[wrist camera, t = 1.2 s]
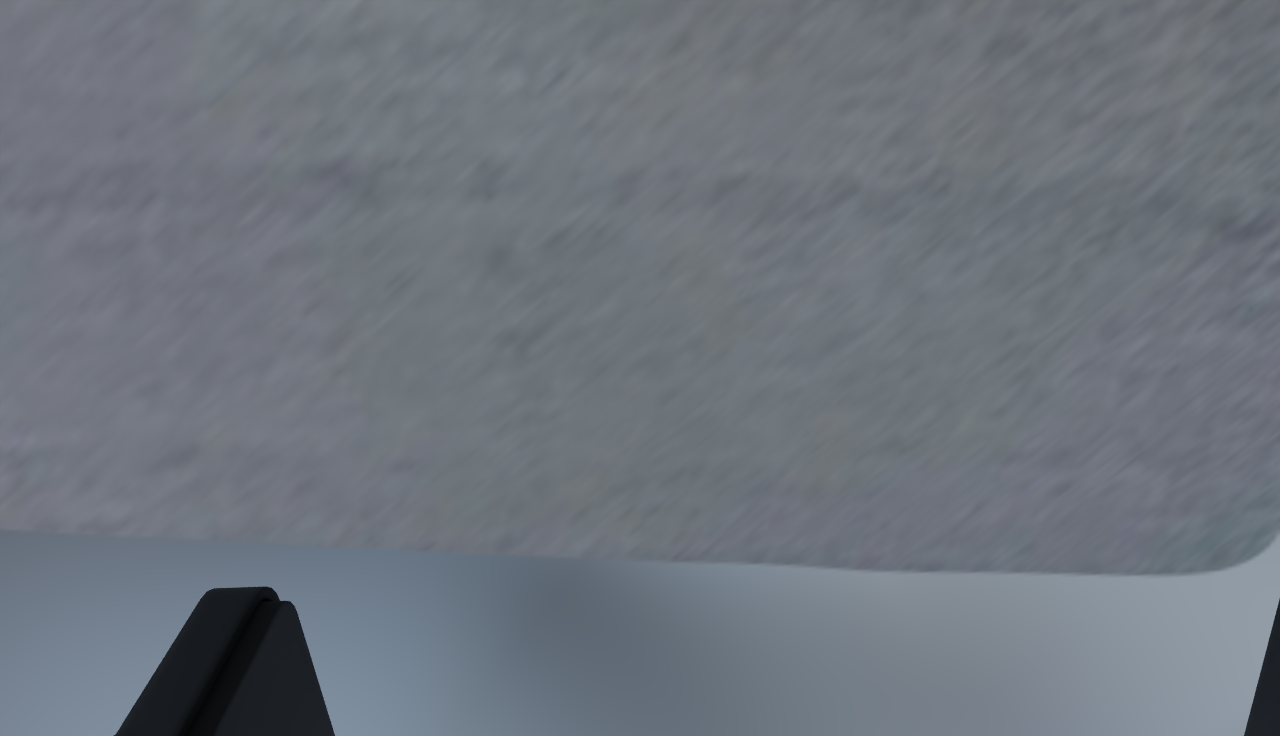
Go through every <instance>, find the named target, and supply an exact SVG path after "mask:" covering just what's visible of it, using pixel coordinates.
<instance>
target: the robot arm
mask: <svg viewBox="0 0 1280 736" xmlns="http://www.w3.org/2000/svg"><path fill="white" fill-rule="evenodd" d="M114 736H335V734H334V731H333V728H332V725H331V721H330V718H329V715H328V712H327V708H326V705H325V702H324V698H323V695H322V692H321V689H320V685H319V682H318V679H317V676H316V672H315V669H314V666H313V663H312V659H311V656H310V653H309V650H308V646H307V643H306V640H305V637H304V633H303V630H302V627H301V623H300V620H299V617H298V614H297V611H296V609H295V606H294V605H293V604H292V603H291V602H290V601H280V600H279V598H278V595H277V593H276V592H275V591H274V590H273V589H272V588H269V587H244V588H243V587H242V588H216V589H215V588H214V589H211V590H209V591H207V592H206V593H205V595H204V596H203V597H202V598H201V599H200V601H199V602H198V604H197V606H196V607H195V609H194V610H193V612H192V614H191V615H190V617H189V618H188V620H187V622H186V623H185V625H184V626H183V628H182V630H181V631H180V633H179V635H178V636H177V638H176V639H175V641H174V642H173V644H172V646H171V648H170V649H169V650H168V652H167V654H166V655H165V657H164V658H163V660H162V662H161V663H160V665H159V666H158V668H157V670H156V671H155V673H154V674H153V676H152V677H151V679H150V681H149V683H148V684H147V685H146V687H145V689H144V690H143V692H142V694H141V695H140V697H139V698H138V700H137V702H136V703H135V705H134V706H133V708H132V709H131V711H130V713H129V714H128V716H127V717H126V719H125V721H124V722H123V724H122V726H121V727H120V729H119V730H118V732H117V734H116V735H114ZM1244 736H1280V600H1279V604H1278V608H1277V611H1276V615H1275V619H1274V623H1273V627H1272V631H1271V634H1270V638H1269V642H1268V646H1267V650H1266V654H1265V658H1264V661H1263V665H1262V669H1261V673H1260V677H1259V681H1258V684H1257V688H1256V692H1255V696H1254V700H1253V704H1252V707H1251V712H1250V715H1249V719H1248V723H1247V727H1246V731H1245V735H1244Z"/></svg>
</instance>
